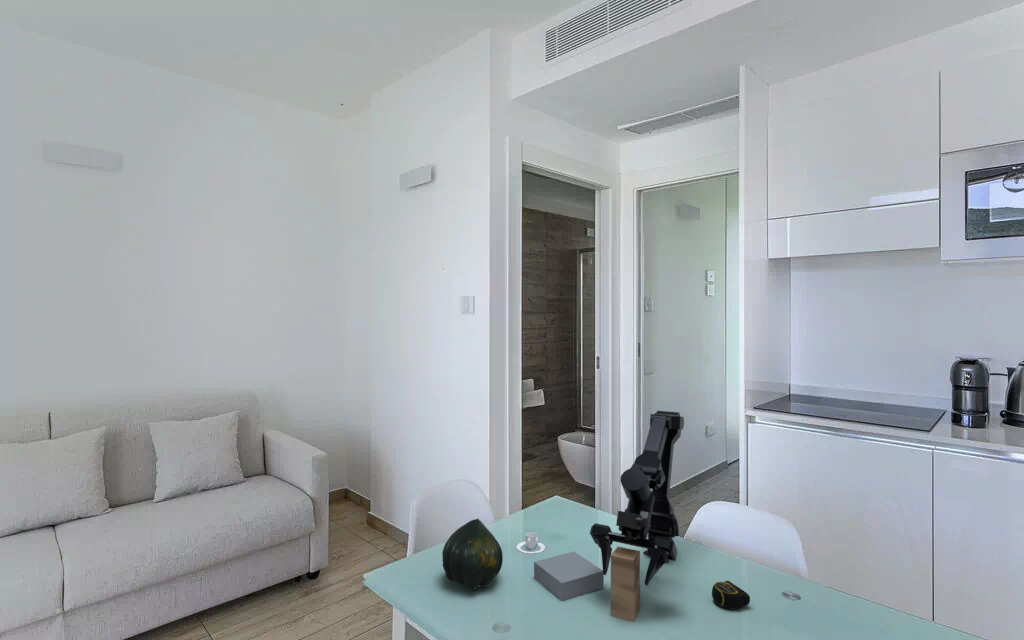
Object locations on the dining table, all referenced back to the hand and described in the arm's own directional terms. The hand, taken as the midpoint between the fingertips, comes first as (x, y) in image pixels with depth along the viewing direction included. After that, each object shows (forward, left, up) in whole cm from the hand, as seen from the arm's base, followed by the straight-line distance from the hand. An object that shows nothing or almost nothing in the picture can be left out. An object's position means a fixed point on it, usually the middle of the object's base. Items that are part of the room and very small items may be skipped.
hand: (624, 579), depth 115 cm
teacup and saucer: (-8, -37, -8) cm, 39 cm away
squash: (+18, -32, -8) cm, 38 cm away
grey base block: (0, -17, -7) cm, 19 cm away
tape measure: (-23, +11, -8) cm, 26 cm away
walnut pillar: (-1, 0, -7) cm, 8 cm away
